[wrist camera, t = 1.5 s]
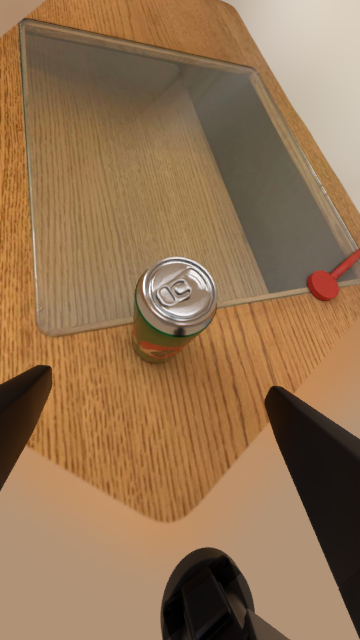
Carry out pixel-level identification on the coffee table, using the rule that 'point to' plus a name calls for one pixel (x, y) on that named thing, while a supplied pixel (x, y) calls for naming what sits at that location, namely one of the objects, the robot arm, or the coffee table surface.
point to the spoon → (329, 279)
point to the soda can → (171, 307)
